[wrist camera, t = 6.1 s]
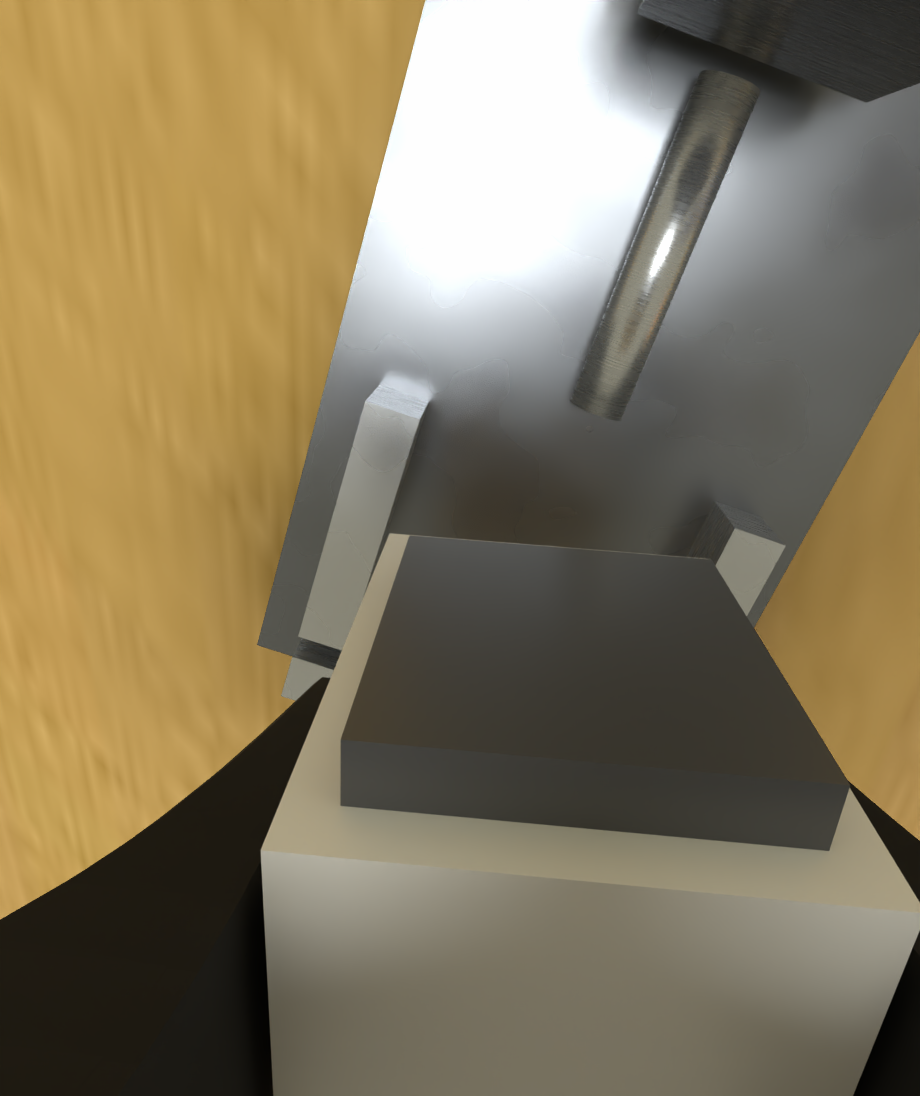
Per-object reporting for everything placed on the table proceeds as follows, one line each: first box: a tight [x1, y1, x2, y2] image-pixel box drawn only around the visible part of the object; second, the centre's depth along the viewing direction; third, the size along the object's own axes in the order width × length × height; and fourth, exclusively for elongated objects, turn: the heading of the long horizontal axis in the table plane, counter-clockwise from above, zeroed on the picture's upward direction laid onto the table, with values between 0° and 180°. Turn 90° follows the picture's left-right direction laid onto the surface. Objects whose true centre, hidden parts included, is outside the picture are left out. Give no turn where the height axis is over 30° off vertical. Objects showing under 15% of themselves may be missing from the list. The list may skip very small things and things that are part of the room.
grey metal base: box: [257, 0, 920, 701], centre depth 12 cm, size 10×20×8 cm, turn 161°
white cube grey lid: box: [261, 533, 920, 1096], centre depth 9 cm, size 5×4×6 cm
